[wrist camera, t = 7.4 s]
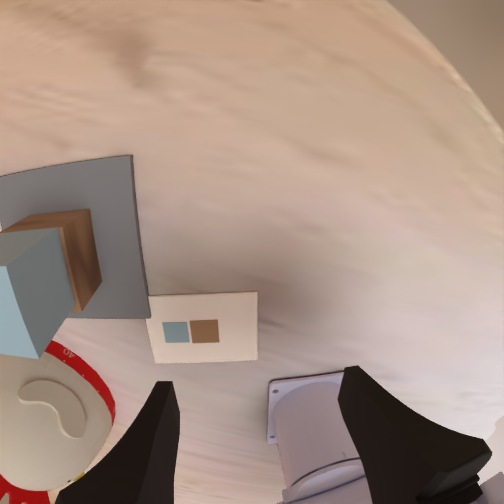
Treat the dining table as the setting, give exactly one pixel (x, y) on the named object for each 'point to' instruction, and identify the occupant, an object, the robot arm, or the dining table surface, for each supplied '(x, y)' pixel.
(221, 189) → the dining table surface
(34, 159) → the dining table surface
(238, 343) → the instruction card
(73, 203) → the slate mat
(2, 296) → the blue brick
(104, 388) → the kitchen timer
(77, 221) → the walnut block
